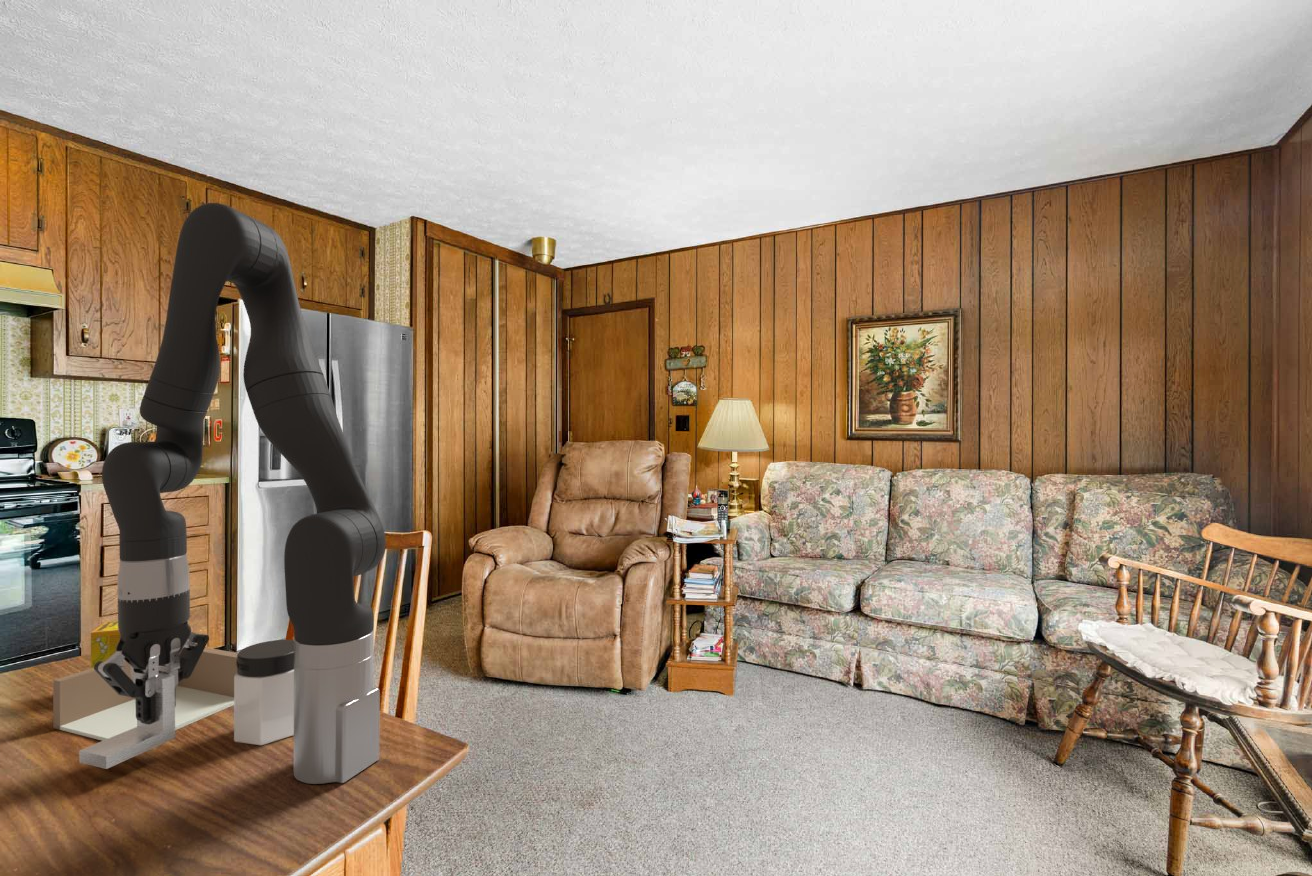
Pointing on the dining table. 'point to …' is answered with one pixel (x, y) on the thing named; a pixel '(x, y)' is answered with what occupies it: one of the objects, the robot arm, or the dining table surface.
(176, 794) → the dining table surface
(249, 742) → the jar
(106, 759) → the bracket
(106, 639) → the supplement box
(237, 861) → the dining table surface
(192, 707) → the tray
